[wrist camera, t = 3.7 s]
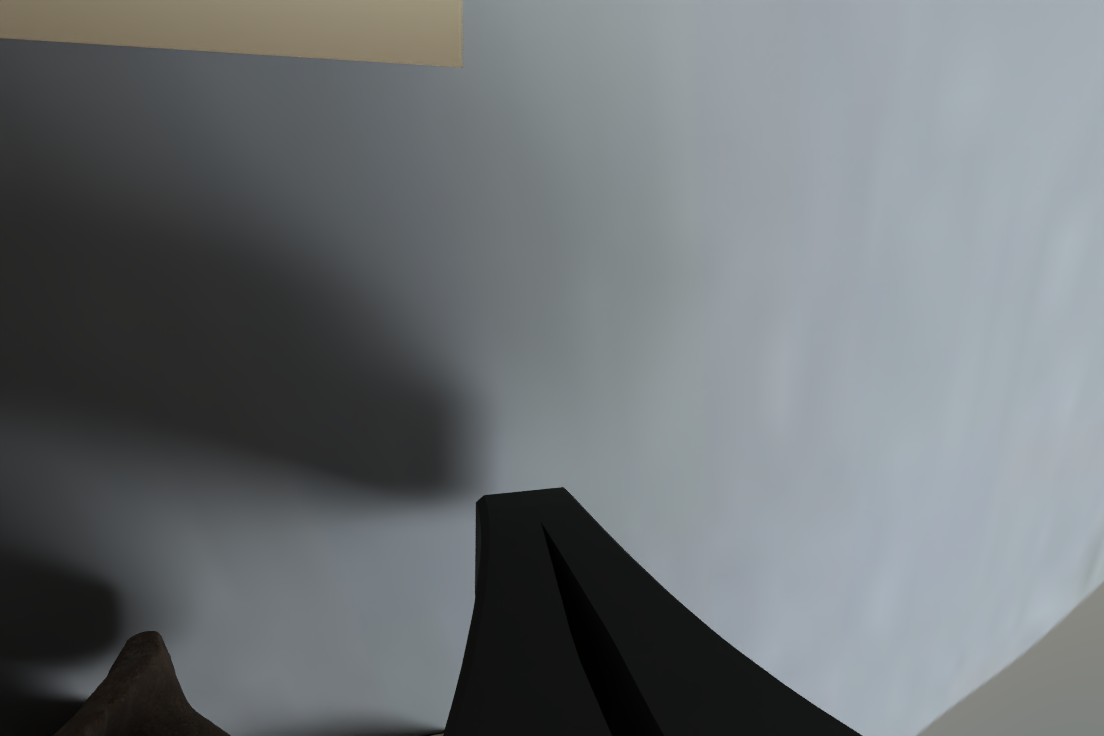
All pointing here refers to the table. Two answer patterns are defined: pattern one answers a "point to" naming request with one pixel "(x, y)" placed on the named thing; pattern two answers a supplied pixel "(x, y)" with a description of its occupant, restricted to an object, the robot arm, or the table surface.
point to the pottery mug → (140, 698)
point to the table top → (252, 27)
